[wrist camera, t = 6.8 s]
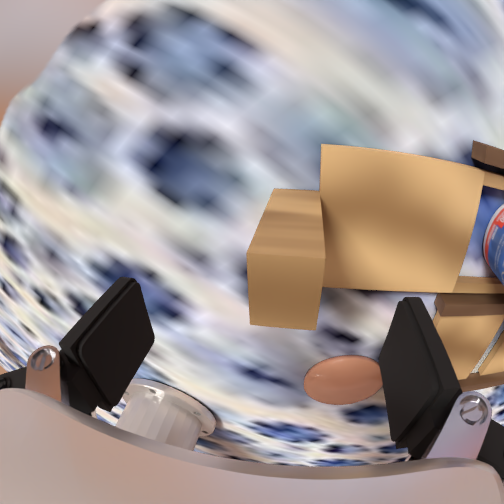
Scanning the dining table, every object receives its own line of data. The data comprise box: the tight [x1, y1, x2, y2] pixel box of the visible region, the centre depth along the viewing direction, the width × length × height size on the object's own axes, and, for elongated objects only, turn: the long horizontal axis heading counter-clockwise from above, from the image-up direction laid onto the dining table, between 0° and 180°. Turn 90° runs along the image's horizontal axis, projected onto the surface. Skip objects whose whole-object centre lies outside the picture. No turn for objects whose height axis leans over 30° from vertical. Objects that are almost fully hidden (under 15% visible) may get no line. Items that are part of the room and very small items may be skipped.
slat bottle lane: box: [247, 144, 504, 330], centre depth 11 cm, size 8×20×7 cm, turn 91°
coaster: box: [304, 355, 383, 405], centre depth 21 cm, size 7×7×1 cm
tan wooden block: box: [433, 310, 504, 380], centre depth 15 cm, size 8×9×7 cm
